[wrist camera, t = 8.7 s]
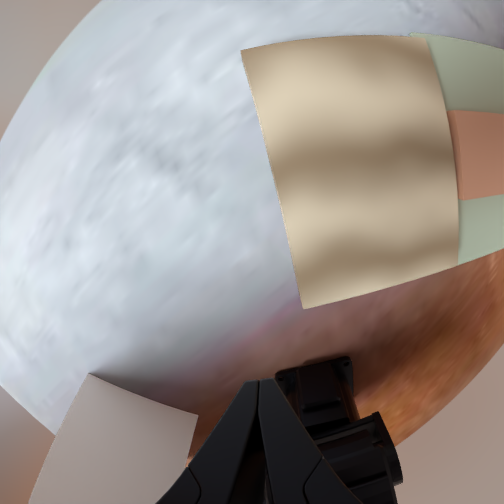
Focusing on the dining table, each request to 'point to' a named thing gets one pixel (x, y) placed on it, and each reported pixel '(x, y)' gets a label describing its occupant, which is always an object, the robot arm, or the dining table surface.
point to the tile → (477, 152)
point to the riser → (357, 160)
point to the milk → (114, 449)
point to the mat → (481, 100)
